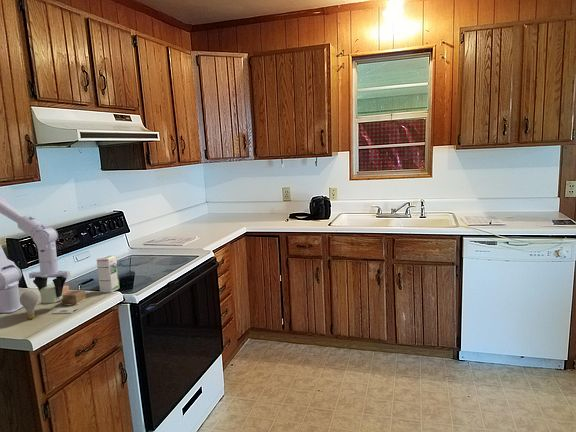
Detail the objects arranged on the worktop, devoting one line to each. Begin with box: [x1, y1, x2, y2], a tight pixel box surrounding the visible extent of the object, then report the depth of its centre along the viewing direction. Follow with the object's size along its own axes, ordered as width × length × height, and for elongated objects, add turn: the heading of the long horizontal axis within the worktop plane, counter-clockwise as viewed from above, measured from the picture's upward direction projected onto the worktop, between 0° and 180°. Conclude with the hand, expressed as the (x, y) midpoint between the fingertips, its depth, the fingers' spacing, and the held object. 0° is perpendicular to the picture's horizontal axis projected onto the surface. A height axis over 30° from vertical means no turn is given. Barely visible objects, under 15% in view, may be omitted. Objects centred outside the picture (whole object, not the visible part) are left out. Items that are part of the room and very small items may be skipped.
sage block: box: [39, 284, 63, 304], centre depth 155 cm, size 5×5×5 cm
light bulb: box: [19, 290, 39, 320], centre depth 145 cm, size 6×6×10 cm
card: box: [51, 307, 75, 315], centre depth 153 cm, size 7×5×1 cm
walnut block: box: [61, 290, 87, 305], centre depth 163 cm, size 6×6×4 cm
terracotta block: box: [59, 285, 70, 302], centre depth 167 cm, size 5×5×5 cm
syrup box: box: [96, 255, 120, 293], centre depth 176 cm, size 6×6×14 cm
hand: (51, 296), depth 155 cm, fingers closed on sage block, 5 cm apart
